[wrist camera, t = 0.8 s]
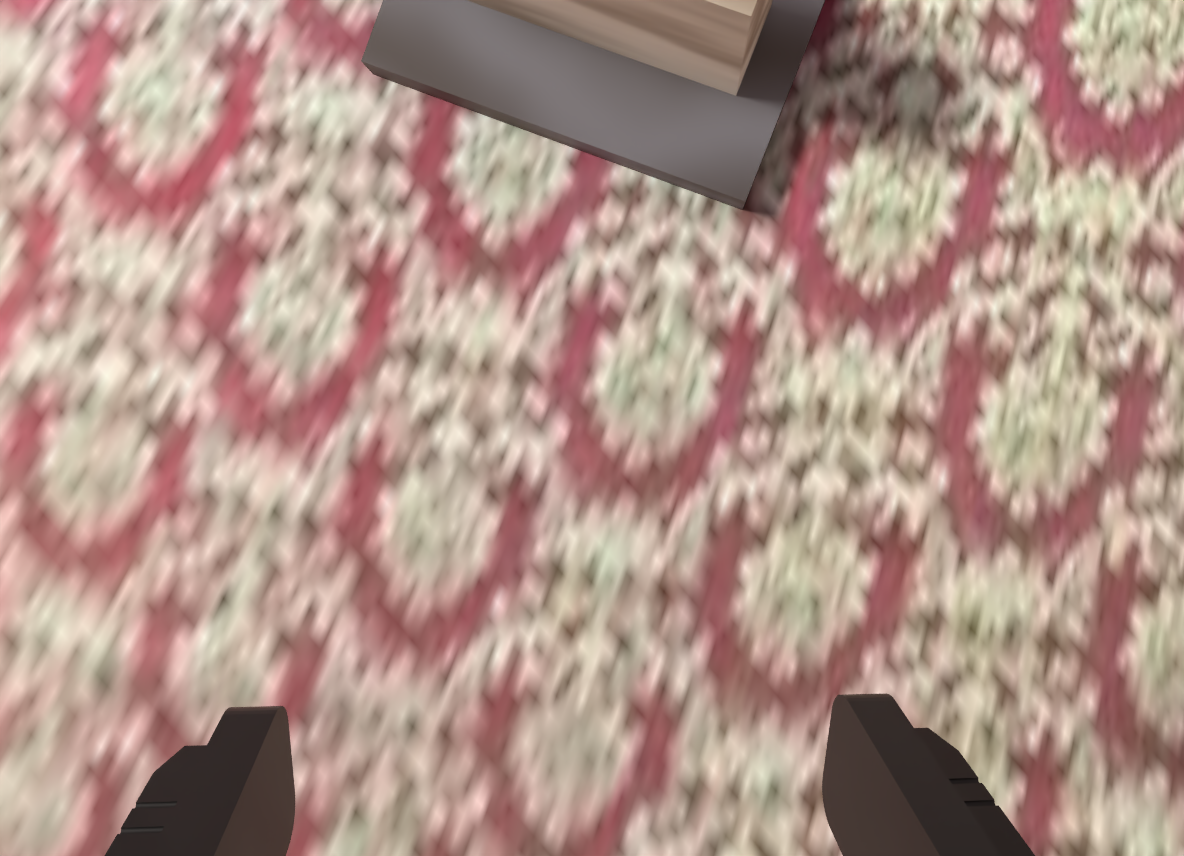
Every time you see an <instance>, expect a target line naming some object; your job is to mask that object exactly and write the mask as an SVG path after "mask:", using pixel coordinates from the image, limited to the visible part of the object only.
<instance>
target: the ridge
mask: <svg viewBox="0 0 1184 856" xmlns="http://www.w3.org/2000/svg"><path fill="white" fill-rule="evenodd" d="M824 2H825V0H383V2H382V5H381V8H380V11H379V13H378V16H377V19H376V22H375V24H374V27H373V30H372V33H371V36H370V38H369V41H368V44H367V47H366V49H365V52H364V55H363V58H362V60H361V61H362V62H363V64H364V65H365V66H366V67H367V68H368V69H369V70H370V71H371V72H372V73H373V74H374V75H377V76H380V77H383V78H385V79H388V80H391V81H393V82H396V83H399V84H402V85H404V86H407V87H410V88H413V89H415V90H418V91H421V92H423V93H426V94H429V95H432V96H434V97H437V98H440V99H443V100H445V101H448V102H451V103H453V104H456V105H459V106H462V107H464V108H467V109H470V110H473V111H475V112H478V113H481V114H483V115H486V116H489V117H492V118H494V119H497V120H500V121H502V122H505V123H508V124H511V125H513V126H516V127H519V128H522V129H524V130H527V131H530V132H532V133H535V134H538V135H541V136H543V137H546V138H549V139H552V140H554V141H557V142H560V143H562V144H565V145H568V146H571V147H573V148H576V149H579V150H581V151H584V152H587V153H590V154H592V155H595V156H598V157H601V158H603V159H606V160H609V161H611V162H614V163H617V164H620V165H622V166H625V167H628V168H631V169H633V170H636V171H639V172H641V173H644V174H647V175H650V176H652V177H655V178H658V179H660V180H663V181H666V182H669V183H671V184H674V185H677V186H680V187H682V188H685V189H688V190H690V191H693V192H696V193H699V194H701V195H704V196H707V197H710V198H712V199H715V200H718V201H720V202H723V203H726V204H729V205H731V206H734V207H737V208H739V209H742V210H743V207H744V205H745V202H746V200H747V197H748V195H749V192H750V189H751V187H752V184H753V182H754V179H755V177H756V174H757V172H758V169H759V167H760V164H761V162H762V159H763V156H764V154H765V151H766V149H767V146H768V144H769V141H770V139H771V136H772V134H773V131H774V129H775V126H776V124H777V121H778V118H779V116H780V113H781V111H782V108H783V106H784V103H785V101H786V98H787V96H788V93H789V91H790V88H791V85H792V83H793V80H794V78H795V75H796V73H797V70H798V68H799V65H800V63H801V60H802V58H803V55H804V53H805V50H806V47H807V45H808V42H809V40H810V37H811V35H812V32H813V30H814V27H815V25H816V22H817V20H818V17H819V14H820V12H821V9H822V7H823V4H824Z"/></svg>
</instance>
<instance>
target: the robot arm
mask: <svg viewBox="0 0 1184 856" xmlns="http://www.w3.org/2000/svg"><path fill="white" fill-rule="evenodd" d="M822 793H823V803H824V808H825V813H826V817H827V820H828V823H829V826H830V828H831V830H832V833H833V835H834V837H835V839H836V841H837V844H838V846H839V848H840V850H841V852H842V855H843V856H1035V855H1034V854H1033V852H1032V851H1031V849H1030V848H1029V847H1028V845H1027V844H1026V843H1025V841H1024V840H1023V838H1022V837H1021V836H1020V834H1019V833H1018V832H1017V830H1016V829H1015V828H1014V826H1013V825H1012V823H1011V822H1010V821H1009V819H1008V818H1007V817H1006V815H1005V814H1004V812H1003V811H1002V810H1001V808H1000V807H999V806H995V803H994V799H993V797H992V796H991V795H990V793H989V792H988V791H987V789H986V788H985V786H984V785H983V784H982V783H979V782H978V777H977V775H976V774H975V773H974V771H973V770H972V769H971V767H970V766H969V764H968V763H967V762H966V760H965V759H964V758H963V756H962V755H961V754H960V752H959V751H958V750H957V749H955V748H954V747H953V746H951V745H950V744H949V743H948V742H946V741H945V740H944V739H942V738H941V737H940V736H938V735H937V734H936V733H934V732H933V731H932V730H930V729H929V728H913V726H912V725H911V723H910V722H909V720H908V719H907V717H906V716H905V714H904V713H903V711H902V710H901V709H900V707H899V706H898V704H897V703H896V701H895V700H894V699H893V697H892V696H890V695H889V694H853V695H838V696H837V697H836V698H835V700H834V703H833V706H832V713H831V720H830V728H829V735H828V742H827V750H826V757H825V765H824V772H823V781H822ZM294 816H295V788H294V778H293V767H292V756H291V745H290V735H289V724H288V716H287V712H286V709H285V708H284V707H283V706H268V707H230V708H228V709H227V710H226V711H225V712H224V714H223V716H222V718H221V720H220V722H219V723H218V725H217V727H216V729H215V731H214V733H213V735H212V737H211V739H210V741H209V743H208V744H207V745H203V746H184V747H183V748H182V749H181V750H179V751H178V752H177V753H176V754H175V755H174V756H172V757H171V758H170V759H169V760H168V761H167V762H165V763H164V764H163V765H162V766H161V767H160V768H158V769H157V770H156V771H155V772H154V773H153V775H152V776H151V778H150V780H149V781H148V783H147V785H146V786H145V788H144V790H143V792H142V793H141V795H140V797H139V798H138V800H137V802H136V807H135V809H132V810H131V812H130V814H129V815H128V817H127V819H126V820H125V822H124V824H123V826H122V827H121V833H120V834H117V836H116V837H115V839H114V841H113V843H112V844H111V846H110V848H109V849H108V851H107V853H106V854H105V856H286V853H287V850H288V847H289V843H290V840H291V835H292V830H293V824H294Z"/></svg>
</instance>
